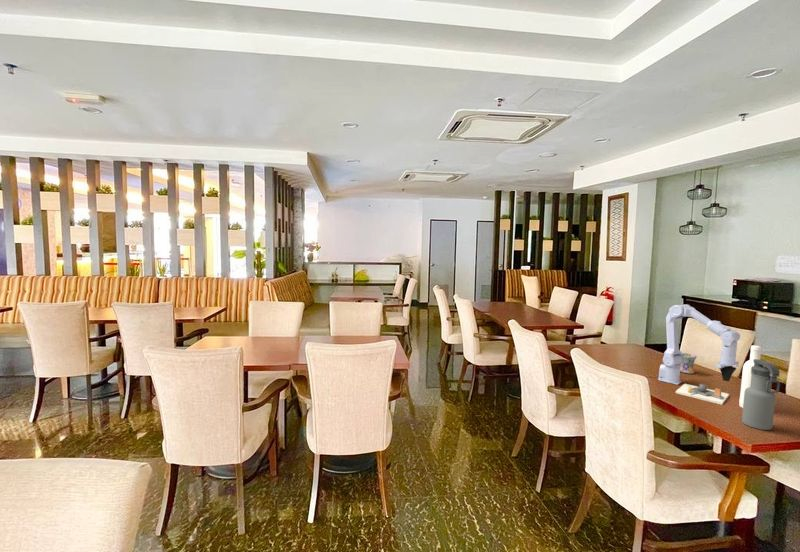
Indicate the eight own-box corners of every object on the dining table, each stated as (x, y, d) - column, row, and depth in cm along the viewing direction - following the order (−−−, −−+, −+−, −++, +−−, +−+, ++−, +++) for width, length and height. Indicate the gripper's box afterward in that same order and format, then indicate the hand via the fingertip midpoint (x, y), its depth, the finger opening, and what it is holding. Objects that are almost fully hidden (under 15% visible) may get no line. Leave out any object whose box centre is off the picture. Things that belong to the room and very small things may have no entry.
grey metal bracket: (689, 390, 207) (689, 382, 206) (699, 388, 210) (699, 380, 209) (716, 399, 195) (717, 391, 194) (726, 397, 198) (727, 389, 197)
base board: (675, 393, 206) (676, 383, 205) (684, 385, 218) (685, 376, 217) (721, 404, 191) (722, 394, 191) (729, 395, 203) (729, 386, 203)
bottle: (763, 413, 183) (770, 349, 181) (741, 409, 187) (747, 346, 184) (758, 406, 190) (764, 345, 187) (737, 403, 194) (743, 343, 191)
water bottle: (779, 430, 165) (786, 365, 163) (760, 432, 164) (767, 365, 161) (754, 419, 175) (760, 358, 173) (735, 421, 174) (741, 358, 171)
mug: (697, 375, 235) (699, 358, 234) (679, 373, 238) (680, 356, 237) (689, 369, 247) (691, 352, 246) (672, 367, 249) (674, 351, 249)
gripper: (728, 357, 192) (726, 384, 193) (746, 355, 197) (744, 381, 199) (712, 353, 198) (710, 380, 200) (730, 351, 204) (728, 377, 205)
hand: (726, 380), depth 199 cm, fingers closed
